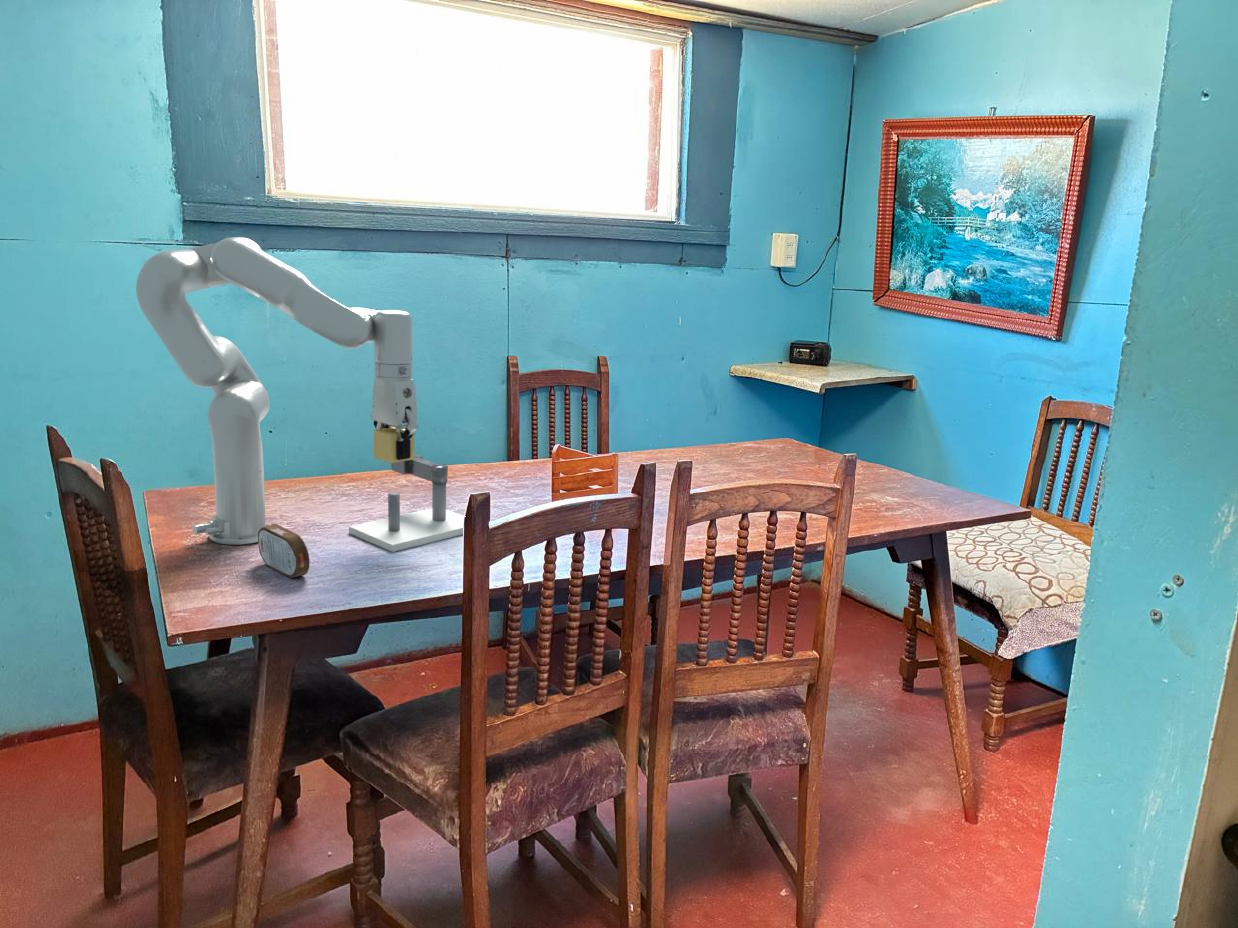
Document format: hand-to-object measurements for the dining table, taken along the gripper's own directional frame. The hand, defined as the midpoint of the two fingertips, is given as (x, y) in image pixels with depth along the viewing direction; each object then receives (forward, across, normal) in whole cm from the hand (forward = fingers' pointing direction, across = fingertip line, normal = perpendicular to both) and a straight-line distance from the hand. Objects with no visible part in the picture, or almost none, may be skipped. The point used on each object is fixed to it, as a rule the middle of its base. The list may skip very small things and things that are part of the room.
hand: (393, 454), depth 198 cm
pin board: (+18, 0, -6) cm, 19 cm away
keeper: (+8, +6, -12) cm, 16 cm away
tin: (+18, -4, +28) cm, 34 cm away
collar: (+1, 0, 0) cm, 1 cm away
